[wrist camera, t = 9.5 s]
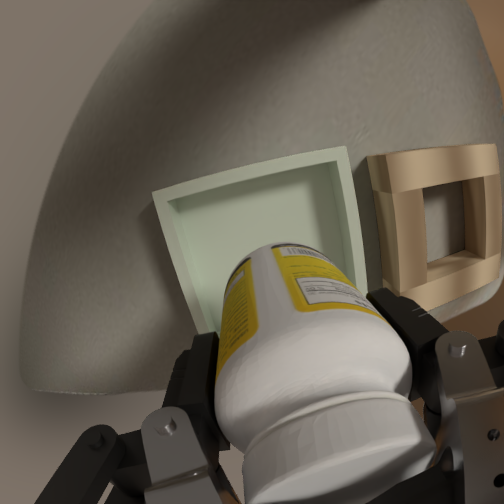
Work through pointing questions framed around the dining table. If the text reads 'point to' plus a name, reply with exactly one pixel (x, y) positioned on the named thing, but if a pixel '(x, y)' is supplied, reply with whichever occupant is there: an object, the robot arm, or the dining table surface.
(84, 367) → the dining table surface
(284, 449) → the supplement bottle
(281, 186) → the tray
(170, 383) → the robot arm
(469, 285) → the holder block
